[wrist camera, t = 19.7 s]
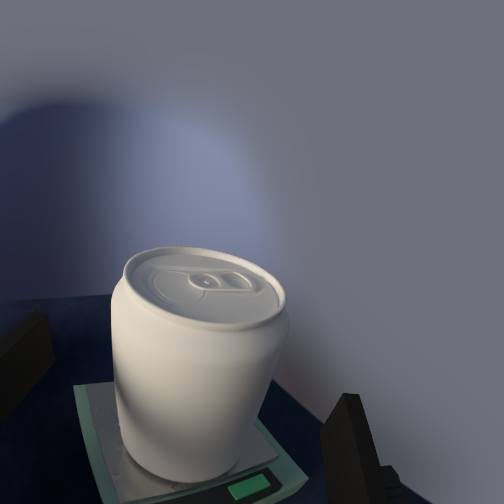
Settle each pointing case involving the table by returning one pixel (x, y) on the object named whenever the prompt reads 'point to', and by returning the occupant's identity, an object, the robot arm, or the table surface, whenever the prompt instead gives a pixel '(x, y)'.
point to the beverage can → (193, 357)
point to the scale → (210, 497)
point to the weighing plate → (138, 478)
